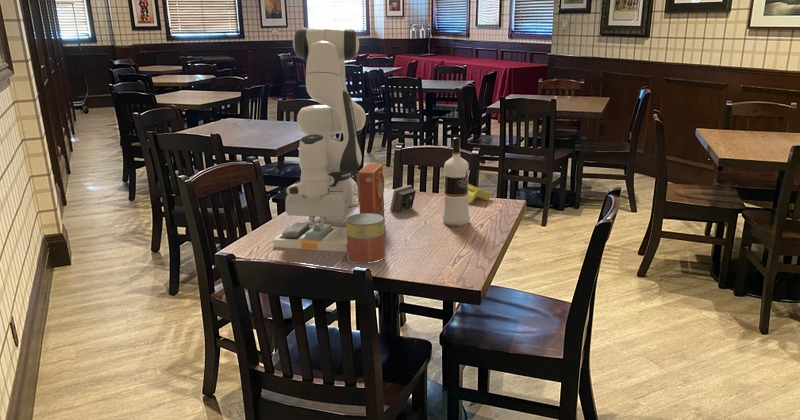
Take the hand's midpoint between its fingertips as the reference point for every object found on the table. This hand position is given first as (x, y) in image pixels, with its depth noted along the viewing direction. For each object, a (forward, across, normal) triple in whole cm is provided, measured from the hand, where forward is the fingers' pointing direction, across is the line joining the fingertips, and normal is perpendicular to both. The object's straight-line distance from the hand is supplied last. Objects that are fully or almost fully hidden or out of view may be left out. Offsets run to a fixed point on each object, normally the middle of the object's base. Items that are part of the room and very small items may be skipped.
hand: (318, 229), depth 192 cm
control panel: (+5, -13, -17) cm, 22 cm away
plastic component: (+5, -39, -62) cm, 74 cm away
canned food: (+5, -19, +9) cm, 21 cm away
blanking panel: (+4, 0, 0) cm, 4 cm away
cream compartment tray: (+4, 0, 0) cm, 5 cm away
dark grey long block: (+4, +8, 0) cm, 9 cm away
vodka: (+5, -40, -29) cm, 49 cm away
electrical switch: (+5, -18, -41) cm, 45 cm away
